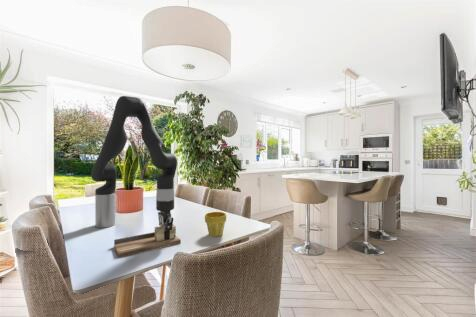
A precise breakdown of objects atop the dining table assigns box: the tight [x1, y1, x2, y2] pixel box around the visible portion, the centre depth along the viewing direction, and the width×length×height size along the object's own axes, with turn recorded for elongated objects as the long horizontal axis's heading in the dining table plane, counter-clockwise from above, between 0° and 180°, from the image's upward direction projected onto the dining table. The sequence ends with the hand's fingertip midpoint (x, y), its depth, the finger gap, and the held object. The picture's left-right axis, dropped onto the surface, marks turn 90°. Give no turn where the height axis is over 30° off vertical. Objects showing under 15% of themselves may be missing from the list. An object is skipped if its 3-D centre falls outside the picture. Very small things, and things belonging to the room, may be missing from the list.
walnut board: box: [113, 231, 182, 258], centre depth 95 cm, size 12×24×3 cm, turn 126°
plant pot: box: [204, 211, 227, 237], centre depth 109 cm, size 10×10×10 cm
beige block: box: [154, 224, 177, 242], centre depth 98 cm, size 5×8×5 cm, turn 126°
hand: (165, 237), depth 99 cm, fingers closed on beige block, 3 cm apart
